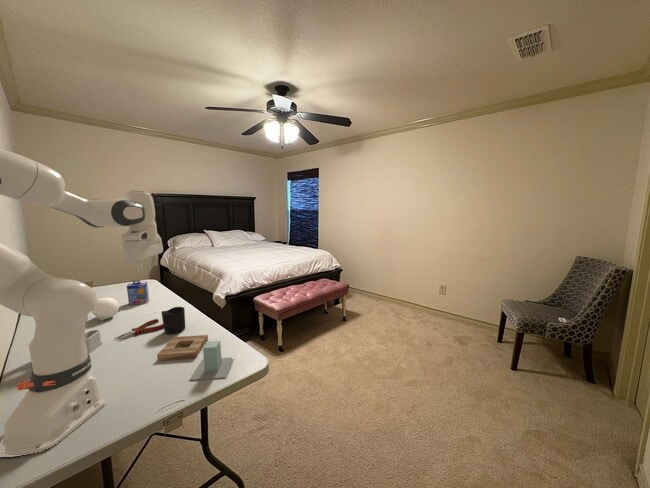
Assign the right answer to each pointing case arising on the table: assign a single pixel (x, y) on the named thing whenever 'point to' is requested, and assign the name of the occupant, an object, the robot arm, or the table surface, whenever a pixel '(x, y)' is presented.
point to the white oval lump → (105, 308)
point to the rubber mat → (221, 373)
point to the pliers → (142, 329)
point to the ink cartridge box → (137, 293)
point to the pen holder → (174, 320)
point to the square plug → (212, 356)
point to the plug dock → (175, 352)
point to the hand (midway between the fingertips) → (147, 268)
